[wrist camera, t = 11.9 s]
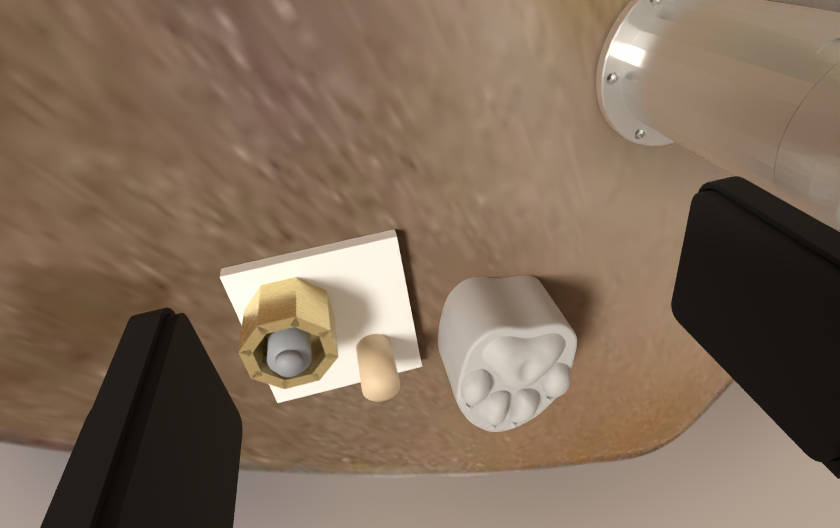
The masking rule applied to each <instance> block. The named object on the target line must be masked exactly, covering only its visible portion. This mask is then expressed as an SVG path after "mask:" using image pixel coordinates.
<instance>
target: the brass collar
mask: <svg viewBox="0 0 840 528" xmlns="http://www.w3.org/2000/svg"><path fill="white" fill-rule="evenodd" d="M292 327H296V328H298V329H301V330H303V331H306V332H309V333H310V339H311V363H310V365H309V366H308V367H307V368H306V369H305V370H304V371H302V372H301V373H299V374H298V375H296V376H293V377H284V376H281V375H279V374H278V373H276V372H274V371H273V370H271V369H270V367H269V366H268V363H267V351H268V335H269V333H272V332H276V331H280V330H284V329H288V328H292ZM239 355H240V357H241V359H242V361H243V363H244V365H245V367H246V369H247V371H248V373H249V375H250V377H251V379H254V380H258V381H261V382H264V383H267V384H270V385H273V386H276V387H279V388H282V389H287V388H291V387H295V386H299V385H303V384H307V383H311V382H315V381H319V380H320V379H321V378H322V377H323V376H324V374H325V373H326V372H327V371H328V370H329V368H330V367H331V366H332V365H333V363H334V362H335V361H336V360H337V358H338V357H339V354H338V345H337V335H336V326H335V316H334V313H333V310H332V307H331V303H330V300H329V297H328V294H327V291H326V290H324V289H322V288H320V287H317V286H315V285H313V284H311V283H308V282H306V281H304V280H302V279H299V278H297V277H294V278H289V279H285V280H281V281H276V282H272V283H268V284H263V285H260V287H259V288H258V290H257V291H256V293H255V294H254V296H253V297H252V299H251V300H250V302H249V303H248V305H247V306H246V308H245V309H244V313H243V321H242V329H241V337H240V344H239Z"/></svg>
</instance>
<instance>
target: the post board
mask: <svg viewBox="0 0 840 528" xmlns="http://www.w3.org/2000/svg"><path fill="white" fill-rule="evenodd" d="M294 277H297V278H299V279H302V280H304V281H306V282H308V283H311V284H313V285H315V286H317V287H320V288H322V289H324V290H326V291H327V294H328V297H329V300H330V303H331V307H332V310H333V313H334V316H335V326H336V335H337V345H338V354H339V357H338V358H337V360H336V361H335V362H334V363H333V365H332V366H331V367H330V368H329V370H328V371H327V372H326V373H325V374H324V376H323V377H322V378H321V379H320V380H319V381H315V382H311V383H307V384H303V385H299V386H295V387H291V388H287V389H282V388H279V387H276V386H273V385H270V384H269V385H270V387H271V390H272V392H273V394H274V396H275V398H276V400H277V403H280V402H284V401H288V400H292V399H296V398H300V397H304V396H308V395H312V394H316V393H320V392H323V391H327V390H331V389H335V388H339V387H343V386H347V385H351V384H355V383H359V382H361V386H362V392H363V395H364V396H365V397H366V398H367V399H369V400H372V401H385V400H388V399H390V398H392V397H394V396H395V395H396V394H397V393H398V391H399V389H400V381H399V376H398V373H399V372H402V371H406V370H410V369H414V368H418V367H422V364H421V359H420V354H419V349H418V343H417V338H416V333H415V328H414V323H413V318H412V312H411V307H410V302H409V297H408V292H407V286H406V281H405V276H404V271H403V266H402V261H401V255H400V250H399V245H398V240H397V235H396V232H395V229H393V230H389V231H384V232H380V233H375V234H371V235H367V236H362V237H358V238H353V239H349V240H344V241H340V242H336V243H331V244H327V245H322V246H318V247H314V248H309V249H305V250H300V251H296V252H292V253H287V254H283V255H278V256H274V257H269V258H265V259H261V260H256V261H252V262H247V263H243V264H239V265H234V266H230V267H225V268H222V269H221V274H220V279H221V281H222V283H223V285H224V287H225V289H226V292H227V294H228V296H229V298H230V300H231V302H232V305H233V307H234V309H235V311H236V313H237V316H238V318H239V320H240V322H241V324H242V321H243V313H244V309H245V308H246V306H247V305H248V303H249V302H250V300H251V299H252V297H253V296H254V294H255V293H256V291H257V290H258V288H259V287H260V285H263V284H268V283H272V282H276V281H281V280H285V279H289V278H294ZM267 363H268V366H269V367H270V369H271V370H273V371H274V372H276V373H278V374H279V375H281V376H284V377H293V376H296V375H298V374H299V373H301V372H302V371H304V370H305V369H306V368H307V367H308V366H309V365H310V363H311V339H310V333H309V332H306V331H303V330H301V329H298V328H296V327H292V328H288V329H284V330H280V331H276V332H272V333H269V335H268V351H267Z"/></svg>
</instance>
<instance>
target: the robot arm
mask: <svg viewBox="0 0 840 528" xmlns="http://www.w3.org/2000/svg"><path fill="white" fill-rule="evenodd" d="M608 75H609V76H608ZM607 77H608V78H607ZM596 92H597V100H598V103H599V107H600V110H601V113H602V114H603V116H604V118H605V120H606V122H607V123H608V124H609V125H610V126H611V127H612V129H613V130H614V131H615V132H617V133H618V134H620V135H621V136H623V137H624V138H625V139H627V140H629V141H631V142H633V143H636V144H640V145H646V146H663V145H668V144H672V143H678V144H680V145H681V146H683V147H685V148H687V149H688V150H690V151H692V152H694V153H695V154H697V155H699V156H701V157H702V158H704V159H706V160H708V161H709V162H711V163H713V164H715V165H716V166H718V167H720V168H722V169H723V170H725V171H727V172H729V173H730V174H732V175H734V177H729V178H725V179H721V180H716V181H712V182H708V183H705V184H704V185H702V187H701V188H700V189H699V192H698V193H697V194H695V195H694V197H693V199H692V201H691V206H690V211H689V216H688V221H687V227H686V232H685V237H684V242H683V247H682V252H681V257H680V262H679V267H678V272H677V277H676V282H675V287H674V292H673V297H672V302H671V307H672V312H673V315H674V317H675V318H676V320H677V321H678V322H679V323H680V324H681V325H682V326H683V327H684V328H685V329H686V331H687V332H688V333H689V334H690V335H691V336H692V337H693V338H694V339H695V340H696V341H697V342H698V343H699V344H700V345H701V346H702V347H703V348H704V349H705V350H706V351H707V352H708V353H709V354H710V355H711V356H712V357H713V358H714V359H715V361H716V362H717V363H718V364H719V365H720V366H721V367H722V368H723V369H724V370H725V371H726V372H727V373H728V374H729V375H730V376H731V377H732V378H733V379H734V380H735V381H736V382H737V383H738V384H739V385H740V386H741V387H742V388H743V389H744V391H745V392H746V393H747V394H748V395H749V396H750V397H751V398H752V399H753V400H754V401H755V402H756V403H758V405H759V406H760V407H761V408H762V409H763V410H764V411H765V412H766V413H767V414H768V415H769V416H770V417H771V418H772V419H773V420H774V421H775V423H776V424H777V425H778V426H779V427H780V428H781V429H782V430H783V431H784V432H785V433H786V434H787V435H788V436H789V437H790V438H791V439H792V440H793V441H794V442H795V443H796V444H797V445H798V446H799V447H800V448H801V449H802V450H803V452H804V453H806V454H807V455H808V456H809V457H810V458H812V459H813V460H815V461H818V462H822V463H823V464H824V465H825V466H826V467H827V468H828V469H829V470H830V471H831V472H832V473H833V474H834V475H835V476H836V477H837V478H838V479H839V478H840V232H838V231H837V230H835V229H833V228H836V229H840V12H835V11H829V10H823V9H817V8H810V7H804V6H798V5H792V4H786V3H779V2H773V1H767V0H631V1H630V2H629V3H628V5H627V6H626V7H625V8H624V9H623V11H622V12H621V13H620V15H619V16H618V18H617V19H616V21H615V23H614V24H613V26H612V28H611V29H610V31H609V33H608V36H607V38H606V40H605V43H604V45H603V47H602V51H601V54H600V58H599V62H598V66H597V75H596ZM831 227H833V228H831ZM241 442H242V421H241V417H240V414H239V412H238V410H237V408H236V406H235V404H234V402H233V401H232V399H231V397H230V395H229V393H228V391H227V389H226V388H225V386H224V384H223V382H222V380H221V378H220V376H219V375H218V373H217V371H216V369H215V367H214V365H213V363H212V362H211V360H210V358H209V356H208V354H207V352H206V350H205V348H204V347H203V345H202V343H201V341H200V339H199V337H198V335H197V334H196V332H195V330H194V328H193V326H192V324H191V322H190V321H189V319H188V317H187V316H186V315H185V314H184V313H179V314H175V312H174V311H173V310H172V309H170V308H163V309H159V310H155V311H150V312H146V313H142V314H137V315H134V316H132V317H131V318H130V319H129V321H128V323H127V325H126V328H125V330H124V333H123V335H122V337H121V340H120V342H119V345H118V347H117V350H116V352H115V354H114V357H113V359H112V362H111V364H110V366H109V369H108V371H107V374H106V376H105V378H104V381H103V383H102V386H101V388H100V390H99V393H98V395H97V398H96V400H95V402H94V405H93V407H92V409H91V411H90V413H89V414H88V416H87V418H86V420H85V422H84V425H83V427H82V429H81V432H80V434H79V437H78V439H77V441H76V444H75V446H74V448H73V451H72V453H71V456H70V458H69V461H68V463H67V465H66V468H65V470H64V472H63V475H62V477H61V480H60V482H59V484H58V487H57V489H56V491H55V494H54V496H53V499H52V501H51V503H50V506H49V508H48V510H47V513H46V515H45V518H44V520H43V523H42V525H41V527H40V528H233V522H234V512H235V502H236V492H237V482H238V472H239V462H240V452H241Z"/></svg>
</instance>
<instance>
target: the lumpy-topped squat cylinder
mask: <svg viewBox="0 0 840 528" xmlns="http://www.w3.org/2000/svg"><path fill="white" fill-rule="evenodd" d="M438 349H439V352H440V355H441V358H442V360H443V363H444V366H445V369H446V372H447V375H448V378H449V381H450V384H451V387H452V390H453V393H454V396H455V399H456V401H457V404H458V406H459V407H460V409H461V411H462V412H463V414H464V415H465V416H466V418H467V419H468V420H469V421H470V422H471V423H473V424H474V425H476V426H478V427H480V428H482V429H484V430H487V431H492V432H500V431H506V430H509V429H513V428H515V427H518V426H520V425H522V424H524V423H526V422H527V421H529V420H531V419H533V418H534V417H536V416H537V415H539V414H540V413H541V412H542V411H543V410H545V409H546V408H547V407H548V406H549V405H550V404H551V403H552V402H553V401H554V400H555V399H556V398H557V397H559V396H561V395H563V394H564V393H565V392H566V391H567V390H568V388H569V385H570V371H571V368H572V365H573V360H574V357H575V353H576V349H577V337H576V334H575V332H574V330H573V329H572V327H571V326H570V325H569V323H568V322H567V320H566V319H565V317H564V316H563V314H562V313H561V311H560V310H559V308H558V307H557V305H556V304H555V302H554V301H553V300H552V298H551V297H550V295H549V294H548V292H547V291H546V289H545V288H544V287H543V285H542V284H541V282H540V281H539V280H538V279H537V278H535V277H533V276H530V275H519V276H513V277H508V278H489V277H473V278H469V279H467V280H464V281H463V282H461V283H460V284H458V285H457V286H456V287H455V288H454V289H453V290H452V291H451V293H450V294H449V296H448V297H447V299H446V302H445V305H444V308H443V312H442V316H441V319H440V325H439V332H438Z"/></svg>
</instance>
